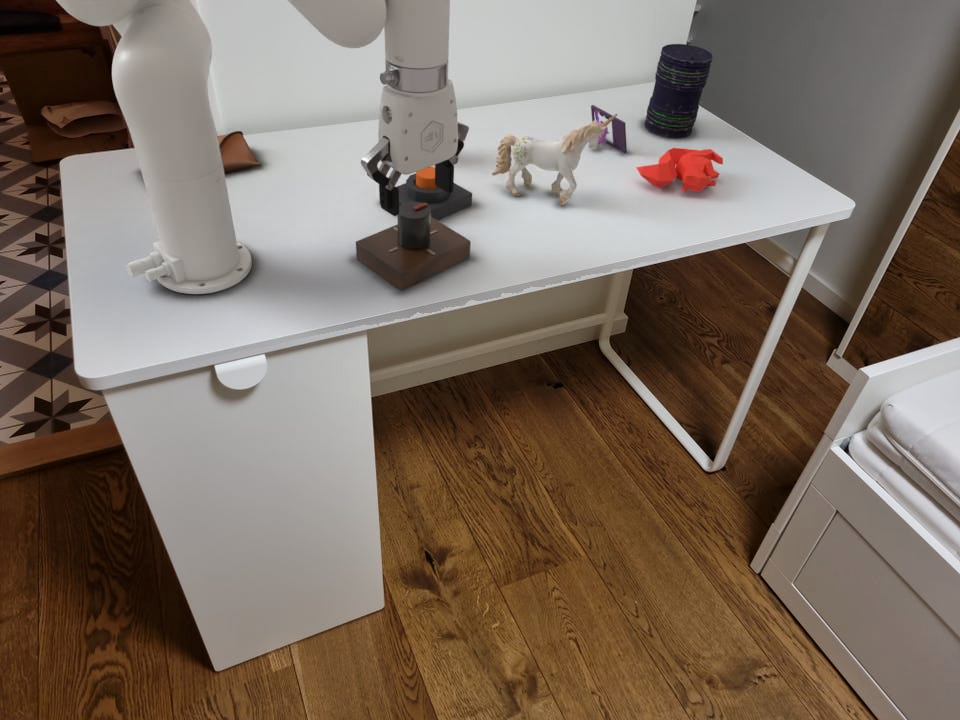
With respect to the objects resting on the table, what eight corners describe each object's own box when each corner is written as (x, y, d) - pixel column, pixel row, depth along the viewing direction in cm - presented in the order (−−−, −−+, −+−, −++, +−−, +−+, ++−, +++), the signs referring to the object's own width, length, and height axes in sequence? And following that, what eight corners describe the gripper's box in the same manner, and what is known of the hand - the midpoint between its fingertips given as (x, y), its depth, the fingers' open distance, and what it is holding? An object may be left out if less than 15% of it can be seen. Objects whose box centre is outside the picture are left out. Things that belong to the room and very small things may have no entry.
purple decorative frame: (628, 120, 131) (595, 102, 136) (606, 134, 130) (574, 116, 135) (629, 150, 136) (597, 132, 141) (609, 164, 135) (577, 145, 140)
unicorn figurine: (609, 209, 119) (625, 132, 111) (492, 204, 118) (499, 125, 109) (602, 188, 125) (617, 113, 116) (490, 182, 123) (497, 106, 114)
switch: (427, 193, 112) (427, 181, 110) (410, 182, 114) (410, 171, 112) (446, 185, 114) (446, 173, 113) (429, 175, 116) (429, 164, 115)
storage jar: (638, 117, 149) (654, 42, 139) (683, 118, 150) (703, 44, 140) (651, 138, 142) (670, 61, 132) (699, 139, 143) (721, 63, 133)
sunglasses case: (156, 189, 113) (140, 146, 111) (148, 193, 118) (133, 152, 117) (265, 164, 121) (252, 124, 120) (253, 169, 127) (240, 130, 125)
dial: (412, 253, 100) (412, 220, 96) (390, 239, 102) (390, 206, 99) (436, 242, 103) (437, 209, 99) (415, 228, 105) (416, 196, 101)
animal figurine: (624, 178, 128) (630, 151, 125) (684, 162, 135) (691, 136, 131) (669, 208, 121) (676, 181, 118) (730, 190, 128) (739, 163, 124)
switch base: (420, 227, 111) (420, 204, 108) (383, 203, 116) (383, 181, 113) (471, 205, 117) (473, 183, 115) (434, 183, 122) (435, 161, 119)
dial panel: (401, 291, 98) (401, 272, 96) (356, 259, 103) (355, 240, 101) (469, 258, 106) (471, 240, 103) (424, 229, 111) (425, 211, 108)
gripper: (380, 100, 80) (385, 233, 92) (489, 67, 90) (482, 191, 101) (339, 80, 84) (349, 209, 95) (448, 50, 93) (445, 171, 105)
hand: (417, 200), depth 98 cm, fingers open, 9 cm apart
